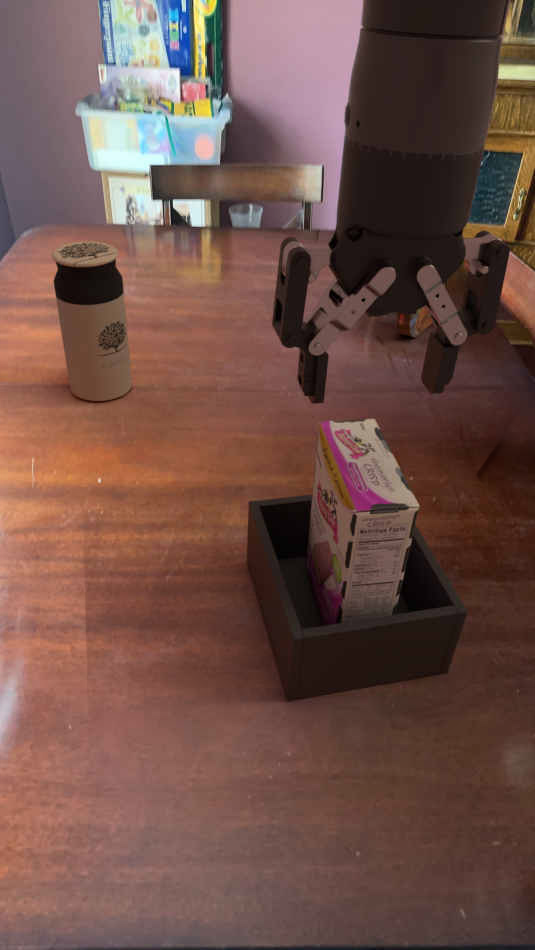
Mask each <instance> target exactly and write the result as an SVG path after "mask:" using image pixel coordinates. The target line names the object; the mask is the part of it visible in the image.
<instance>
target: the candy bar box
mask: <svg viewBox="0 0 535 950" xmlns="http://www.w3.org/2000/svg"><path fill="white" fill-rule="evenodd" d="M317 424H318V427H317V428H318V429H317V438H316V449H315V458H314V459H315V461H314V471H313V482H312V483H313V484H312V506H311V514H310V526H309V536H308V548H307V557H306V568H307V572H308V575H309V578H310V582H311V585H312V588H313V591H314V595H315V598H316V602H317V605H318V609H319V612H320V615H321V619H322V622H323V626H326V625H332V624H339V623H345V622H351V621H358V620H364V619H370V618H377V617H383V616H389V615H395V612H396V607H397V603H398V599H399V595H400V590H401V585H402V581H403V577H404V572H405V568H406V563H407V559H408V555H409V550H410V545H411V541H412V536H413V531H414V527H415V525H416V522H417V520H418V519H417V518H418V513H419V509H420V508H421V507H420V505H419V501H418V500H417V498H416V496H415V495H414V493H413V491H412V489H411V487H410V485H409V483H408V481H407V479H406V477H405V475H404V473H403V471H402V469H401V467H400V465H399V464H398V461H397V460H396V458H395V456H394V453H393V451H392V450H391V449H392V448H391V447H390V446H389V444H388V441H387V440H386V438H385V436H384V434H383V432H382V431H381V428H380V427H379V425H378V423H377V421H376V418H366V419H365V418H364V419H346V420H339V421H338V420H333V419H332V420H325V421H321V422H318V423H317Z"/></svg>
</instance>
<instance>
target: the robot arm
mask: <svg viewBox="0 0 535 950" xmlns="http://www.w3.org/2000/svg"><path fill="white" fill-rule="evenodd" d="M511 1H512V0H362V8H361V15H360V16H361V18H360V25H361V28H360V29H359V34H358V42H357V46H356V51H355V56H354V59H353V64H352V65H353V66H352V69H351V73H350V81H349V87H348V88H349V89H348V97H347V103H346V105H345V107H344V114H343V123H344V135H343V147H342V148H343V149H342V157H341V167H340V177H339V187H338V194H337V195H338V196H337V206H336V224H335V228H334V232H333V235H332V236H331V238H330V240H329V241H328V243H327V244H319V243H317V244H316V243H301V242H300V240H299V239H298V238H297V237H295V236H289V237H286V238H284V239H283V240H282V241H281V243H280V248H279V254H278V255H279V257H278V265H277V274H276V283H275V292H274V299H273V300H274V302H273V309H272V319H271V325H272V329H273V330H274V331H275V333H276V336H277V337H278V339H279V342H280V343H281V344H282V346H283V347H284V348H287V349H292V348H298V350H299V352H298V363H297V375H296V376H297V377H296V380H297V383H298V385H299V388H300V390H301V391H302V394H303V395H304V397H308V400H309V402H310V404H311V405H317V404H318V405H319V404H323V403H324V402H325V394H326V385H327V375H328V366H329V365H328V364H329V358H330V356H329V354H328V352H327V350H328V349H329V348H330V347H331V346H332V344H333V343H334V342H335V341H336V339H338V337H339V336H340V335H341V334H342V333H344V332H349V330H350V329H352V328H353V326H354V325H355V324H356V323H357V322H358V321H359V319H360V318H361V317H362V316H363V315H364V314H366V315H367V316H368V318H372V317H373V318H374V317H382V316H386V315H389V314H392V313H395V314H397V313H400V314H404V315H407V314H416V313H417V310H418V309H421V308H422V307H424V308H425V310H426V311H427V313H428V315H429V317H430V318H431V320H432V322H433V323H432V324H433V325H434V327H435V331H434V332H433V331H432V332H429V335H428V341H427V345H426V351H425V355H424V361H423V365H422V370H421V376H420V380H421V383H422V385H423V386H424V387H425V388H426V390H427V391H428V392H429V394H430V395H435V394H436V395H437V394H442V393H443V392H444V390H445V386H448V385H449V384H450V383H451V382H452V380H453V377H454V373H455V369H456V365H457V360H458V356H459V353H460V352H459V351H460V348H461V345H462V344H463V343H465V342H466V340H467V338H469V337H472V336H474V335H476V334H479V335H481V336H487V335H488V334H490V333H492V331H493V330H494V329H495V325H496V320H497V316H498V311H499V307H500V302H501V298H502V292H503V287H504V283H505V279H506V273H507V267H508V263H509V258H510V254H511V248H510V246H509V245H508V244H507V243H506V242H504V241H503V240H502V239H501V238H499V237H498V236H496V235H494V234H492V233H491V232H489V231H488V230H481V231H479V232H477V233H476V234H475V236H474V237H472V238H471V237H469V238H464V230H465V227H467V226H468V223H469V220H470V217H471V211H472V207H473V202H474V198H475V193H476V188H477V184H478V181H479V175H480V170H481V166H482V160H483V157H484V153H485V148H486V142H487V138H488V133H489V128H490V124H491V119H492V114H493V110H494V105H495V100H496V95H497V90H498V82H499V73H500V62H501V61H500V60H501V52H502V47H503V46H502V45H503V39H504V38H503V35H504V34H505V31H506V30H505V29H506V24H507V20H508V16H509V11H510V6H511ZM462 264H463V266H464V268H465V270H467V273H466V281H465V285H464V286H465V287H464V292H463V296H462V297H463V298H462V303H461V310H459V311H458V309H457V307H456V305H455V304H454V302H453V300H452V298H451V296H450V295H449V293H448V290H447V291H446V289H445V287H444V284H445V283H446V282H447V280H448V281H449V279H451V278H452V276H453V275H454V274H455V272H456V271H458V269H459V268H460V267H461V266H462ZM327 266H328V267H329V269H330V270H331V273H332V274H333V275H334V278H333V280H332V281H331V282H330V283H329V284H328V285H327V287H326V288H325V289H324V291H322V293H321V294H320V296H319V297H318V299H317V304H316V306H315V307H314V308H313V310H312V311H311V313H309V315H308V316H307V317H306V318H305V320H304V316H305V309H306V303H307V302H306V301H307V296H308V295H307V293H308V287H309V285H311V284H313V283H315V282H316V280H317V279H318V277H319V274H320V272H321V270H322V269H323V268H326V267H327ZM346 298H347V299H346ZM345 299H346V300H345ZM344 300H345V301H344Z"/></svg>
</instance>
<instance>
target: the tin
mask: <svg viewBox="0 0 535 950" xmlns="http://www.w3.org/2000/svg"><path fill="white" fill-rule="evenodd" d="M448 282H449V279H448V280H447V282H446V283H445V284H444V287H445V289H446V291H447V292H448V284H449V283H448ZM432 324H433V322H432V320H431V318H430V317H429V315H428V313H427V311H426V310H425V308H424V307H422V308H421V309H418V310H417V313H416V314H407V315H404V314H400V313H396V323H395V328H396V331H397V333H399V334H401V335H404V336H408V337H411V338H414V339H415V338H417V337H419V336H420V335H421V334H422V333H423V332H424V331H425V330H426V329H427V328H428V327H430V326H431V325H432Z"/></svg>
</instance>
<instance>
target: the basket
mask: <svg viewBox="0 0 535 950" xmlns="http://www.w3.org/2000/svg"><path fill="white" fill-rule="evenodd" d="M311 506H312V494H303V495H293V496H285V497H277V498H269V499H267V498H266V499H261V500H260V499H259V500H250V501H248V511H247V513H248V514H247V537H246V539H247V542H246V563H247V564H246V565H247V568H248V571H249V574H250V578H251V581H252V586H253V588H254V592H255V595H256V599H257V602H258V605H259V609H260V613H261V616H262V619H263V623H264V626H265V630H266V633H267V636H268V640H269V644H270V647H271V650H272V653H273V657H274V660H275V664H276V667H277V671H278V674H279V678H280V681H281V684H282V687H283V691H284V695H285V698H286V701H287V702H292V701H298V700H303V699H308V698H314V697H321V696H325V695H331V694H337V693H342V692H347V691H353V690H359V689H364V688H369V687H375V686H381V685H386V684H387V685H388V684H393V683H397V682H403V681H408V680H414V679H419V678H420V679H421V678H426V677H431V676H437V675H442V674H447V673H449V669H450V666H451V664H452V660H453V657H454V654H455V651H456V648H457V645H458V642H459V639H460V636H461V633H462V631H463V627H464V625H465V621H466V619H467V616H468V613H469V611H468V609H467V607H466V605H465V604H464V603H463V601H462V599H461V598H460V596H459V594H458V593H457V591H456V589H455V588H454V586H453V584H452V583H451V581H450V579H449V578H448V576H447V574H446V573H445V571H444V569H443V567H442V566H441V564H440V563H439V561H438V559H437V558H436V556H435V555H434V553H433V551H432V550H431V548H430V546H429V545H428V543H427V541H426V540H425V538H424V536H423V535H422V533H421V531H420V530H419V528H418V526H417V524H415V527H414V531H413V536H412V541H411V545H410V550H409V555H408V559H407V563H406V568H405V572H404V577H403V581H402V585H401V590H400V595H399V599H398V603H397V607H396V612H395V615H389V616H383V617H377V618H370V619H364V620H358V621H351V622H345V623H339V624H332V625H326V626H323V622H322V619H321V615H320V612H319V609H318V605H317V602H316V598H315V595H314V591H313V588H312V585H311V582H310V578H309V575H308V572H307V568H306V557H307V548H308V536H309V526H310V514H311Z"/></svg>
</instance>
